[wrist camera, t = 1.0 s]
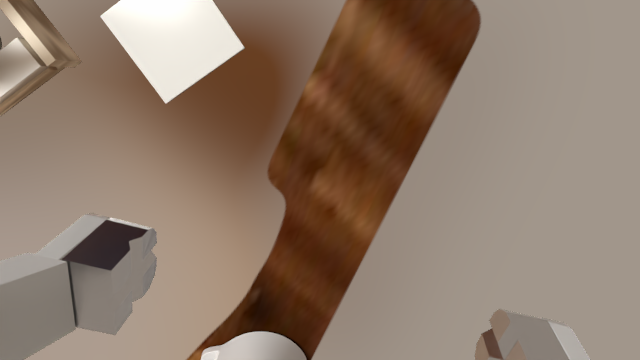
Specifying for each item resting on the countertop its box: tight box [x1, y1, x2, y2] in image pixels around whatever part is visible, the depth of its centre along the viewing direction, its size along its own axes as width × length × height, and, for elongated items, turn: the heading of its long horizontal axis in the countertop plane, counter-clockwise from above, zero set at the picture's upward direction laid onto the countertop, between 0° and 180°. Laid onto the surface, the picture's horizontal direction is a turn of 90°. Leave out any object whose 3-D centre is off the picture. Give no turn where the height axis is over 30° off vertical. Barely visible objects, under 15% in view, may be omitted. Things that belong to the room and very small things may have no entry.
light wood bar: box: [0, 38, 65, 116], centre depth 45 cm, size 4×12×4 cm, turn 123°
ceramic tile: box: [100, 0, 245, 103], centre depth 46 cm, size 12×12×1 cm
